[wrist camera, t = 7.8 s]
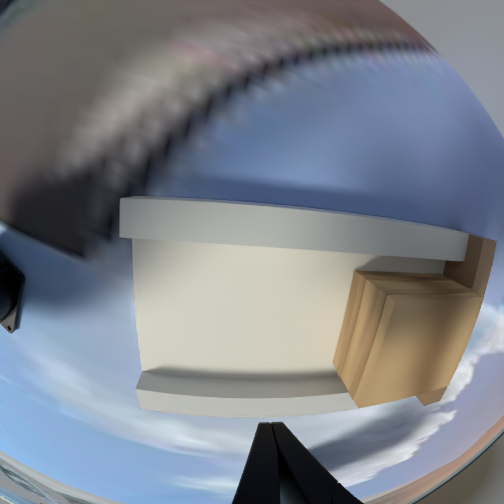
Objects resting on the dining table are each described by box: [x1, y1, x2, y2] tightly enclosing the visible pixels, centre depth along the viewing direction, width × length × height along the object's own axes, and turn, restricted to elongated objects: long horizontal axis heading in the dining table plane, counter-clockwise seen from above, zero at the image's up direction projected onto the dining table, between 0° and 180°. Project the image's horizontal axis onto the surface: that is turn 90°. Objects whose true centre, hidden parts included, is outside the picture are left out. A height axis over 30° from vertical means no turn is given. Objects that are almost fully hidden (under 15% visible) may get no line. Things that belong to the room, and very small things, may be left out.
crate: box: [332, 270, 484, 408], centre depth 15 cm, size 8×7×5 cm
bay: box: [120, 196, 497, 418], centre depth 16 cm, size 24×14×4 cm, turn 85°
